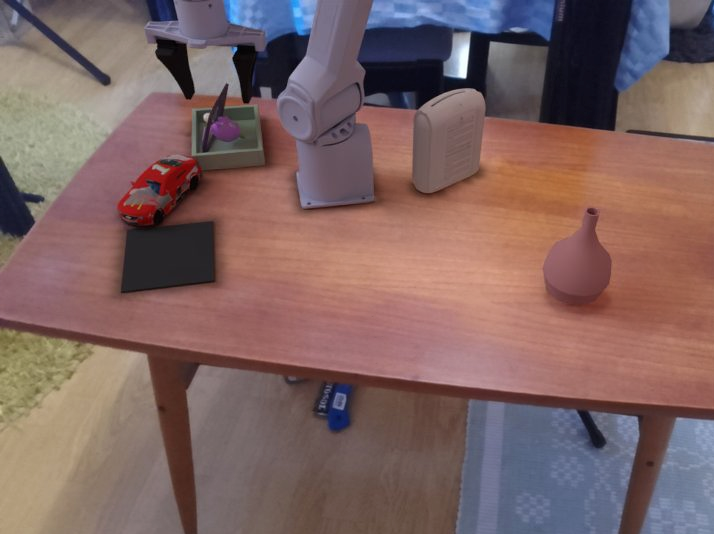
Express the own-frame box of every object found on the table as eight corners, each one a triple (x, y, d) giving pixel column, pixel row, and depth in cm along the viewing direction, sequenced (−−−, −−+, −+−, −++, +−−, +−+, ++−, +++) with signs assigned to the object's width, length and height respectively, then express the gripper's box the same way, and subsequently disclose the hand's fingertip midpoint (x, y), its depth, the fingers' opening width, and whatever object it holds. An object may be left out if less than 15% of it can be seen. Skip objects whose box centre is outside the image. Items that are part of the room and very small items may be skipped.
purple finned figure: (220, 80, 94) (202, 114, 88) (258, 94, 96) (242, 128, 90) (213, 120, 99) (196, 155, 93) (249, 133, 100) (234, 168, 94)
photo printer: (462, 158, 97) (469, 75, 88) (483, 172, 95) (492, 89, 86) (407, 183, 93) (408, 99, 83) (427, 199, 91) (430, 114, 81)
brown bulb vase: (533, 271, 82) (550, 189, 73) (595, 271, 83) (619, 189, 74) (544, 318, 77) (563, 235, 68) (610, 317, 78) (637, 235, 69)
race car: (150, 235, 82) (140, 208, 79) (111, 224, 83) (101, 197, 80) (211, 178, 91) (205, 151, 88) (176, 168, 92) (168, 142, 89)
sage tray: (260, 118, 101) (257, 104, 100) (265, 165, 94) (262, 150, 92) (195, 123, 100) (191, 108, 98) (195, 171, 92) (191, 155, 90)
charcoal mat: (213, 222, 85) (212, 220, 85) (214, 281, 78) (214, 280, 78) (127, 230, 83) (127, 229, 83) (121, 292, 76) (120, 291, 76)
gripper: (123, 1, 79) (155, 109, 89) (250, 10, 79) (266, 117, 89) (144, -23, 83) (171, 82, 93) (263, -14, 84) (277, 90, 94)
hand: (219, 97), depth 91 cm, fingers open, 7 cm apart
